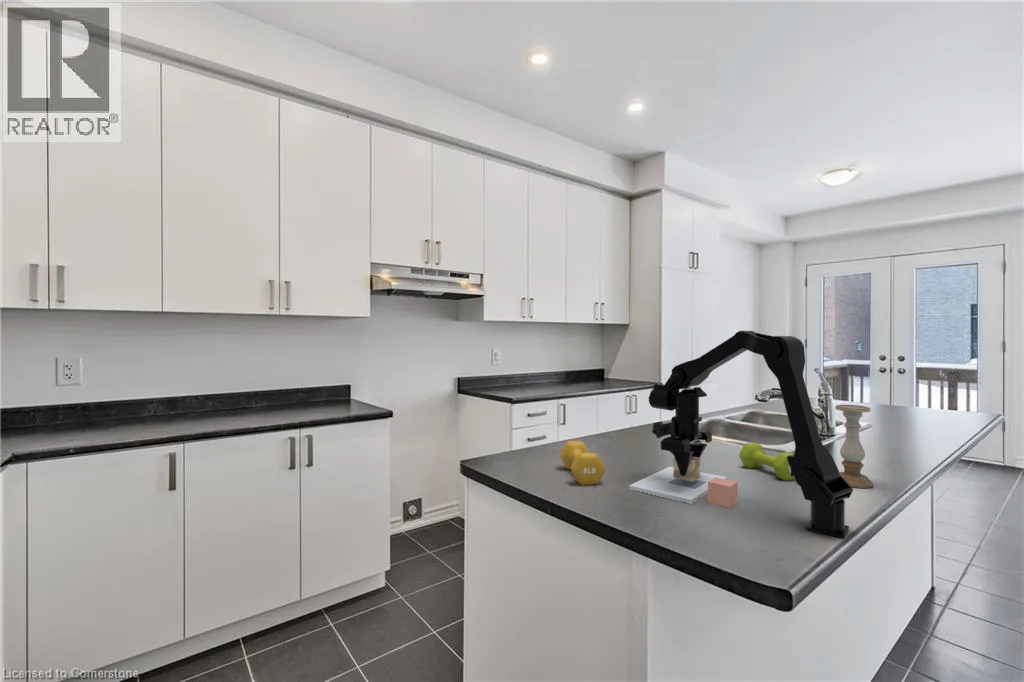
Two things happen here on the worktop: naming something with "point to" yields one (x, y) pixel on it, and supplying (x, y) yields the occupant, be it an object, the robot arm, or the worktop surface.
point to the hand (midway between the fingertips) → (687, 473)
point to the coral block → (723, 492)
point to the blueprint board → (674, 486)
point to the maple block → (689, 470)
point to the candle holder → (853, 447)
